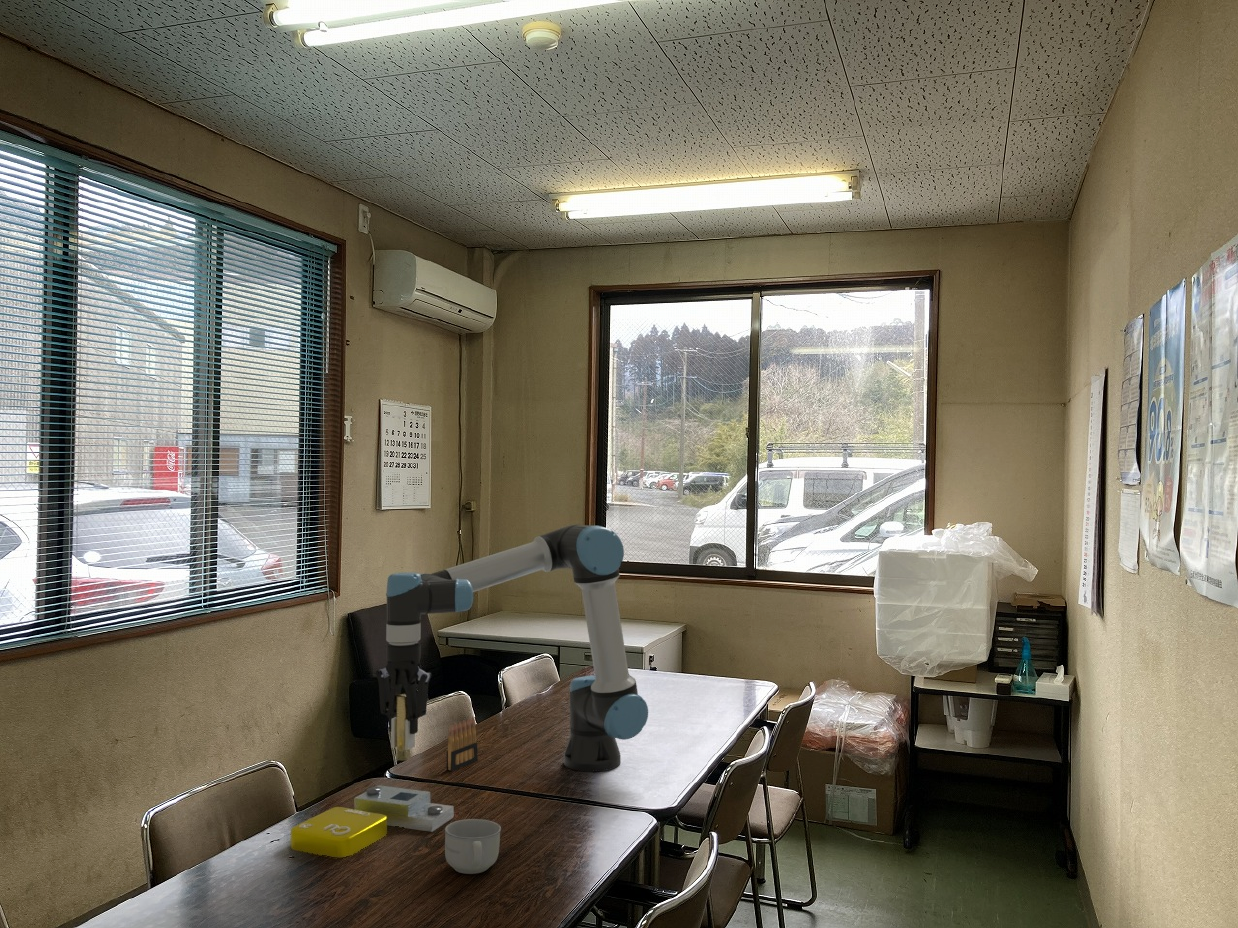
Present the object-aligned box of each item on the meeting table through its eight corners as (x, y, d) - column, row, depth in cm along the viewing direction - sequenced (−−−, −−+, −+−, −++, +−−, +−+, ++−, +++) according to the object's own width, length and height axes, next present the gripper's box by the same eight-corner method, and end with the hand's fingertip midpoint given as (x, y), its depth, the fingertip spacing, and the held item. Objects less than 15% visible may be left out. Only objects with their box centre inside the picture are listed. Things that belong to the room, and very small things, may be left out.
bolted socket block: (453, 817, 205) (453, 791, 205) (432, 831, 197) (432, 804, 197) (378, 806, 212) (378, 781, 212) (354, 820, 204) (354, 794, 204)
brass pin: (412, 757, 205) (412, 694, 206) (404, 760, 203) (405, 697, 203) (401, 755, 206) (401, 693, 207) (393, 759, 204) (393, 696, 204)
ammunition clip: (451, 771, 237) (451, 725, 238) (446, 770, 238) (445, 724, 239) (478, 760, 247) (477, 716, 247) (472, 759, 248) (472, 715, 248)
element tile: (391, 835, 196) (391, 812, 196) (344, 862, 183) (344, 838, 183) (335, 824, 202) (335, 803, 202) (286, 850, 188) (286, 826, 189)
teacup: (448, 857, 183) (447, 817, 184) (502, 855, 184) (502, 815, 184) (440, 888, 170) (440, 844, 170) (499, 885, 170) (498, 842, 171)
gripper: (443, 641, 206) (442, 746, 205) (383, 637, 211) (382, 739, 211) (425, 647, 199) (424, 755, 198) (363, 642, 204) (362, 748, 204)
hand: (403, 746), depth 205 cm, fingers closed on brass pin, 3 cm apart
